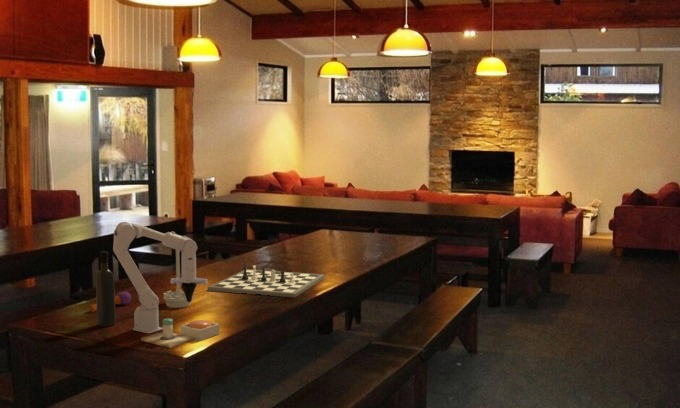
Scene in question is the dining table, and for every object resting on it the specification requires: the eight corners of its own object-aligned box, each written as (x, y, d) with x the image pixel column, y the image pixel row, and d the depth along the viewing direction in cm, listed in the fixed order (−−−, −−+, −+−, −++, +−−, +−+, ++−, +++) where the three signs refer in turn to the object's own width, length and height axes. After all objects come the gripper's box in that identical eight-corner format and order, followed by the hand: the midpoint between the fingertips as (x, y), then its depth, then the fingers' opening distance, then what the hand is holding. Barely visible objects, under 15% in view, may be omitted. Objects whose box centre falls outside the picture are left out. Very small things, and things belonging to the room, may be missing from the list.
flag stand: (186, 308, 324) (185, 241, 321) (158, 307, 327) (157, 240, 323) (198, 301, 337) (196, 236, 333) (171, 300, 340) (169, 235, 336)
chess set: (207, 292, 359) (207, 269, 357) (245, 273, 401) (245, 253, 400) (294, 299, 346) (294, 275, 344) (324, 279, 388) (324, 257, 387)
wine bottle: (108, 322, 303) (106, 249, 299) (116, 324, 299) (114, 251, 296) (96, 325, 298) (93, 251, 295) (104, 327, 295) (101, 253, 291)
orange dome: (184, 332, 284) (184, 323, 284) (200, 327, 291) (200, 318, 291) (200, 336, 279) (200, 327, 279) (215, 331, 286) (215, 322, 286)
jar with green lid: (160, 338, 278) (160, 320, 277) (168, 335, 281) (167, 317, 280) (167, 340, 276) (167, 321, 275) (175, 337, 279) (174, 319, 278)
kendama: (86, 302, 320) (124, 290, 336) (89, 315, 320) (126, 303, 336) (94, 301, 316) (132, 289, 332) (97, 315, 317) (134, 302, 332)
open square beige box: (180, 335, 284) (180, 325, 284) (200, 329, 292) (200, 319, 292) (200, 340, 278) (200, 330, 278) (219, 334, 287) (219, 324, 286)
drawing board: (141, 340, 278) (140, 338, 278) (165, 332, 288) (165, 330, 288) (170, 348, 269) (170, 345, 269) (194, 340, 279) (194, 337, 279)
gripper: (167, 269, 292) (168, 303, 294) (203, 270, 291) (204, 304, 293) (173, 266, 299) (174, 299, 301) (208, 267, 298) (209, 299, 300)
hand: (189, 301), depth 297 cm, fingers closed
